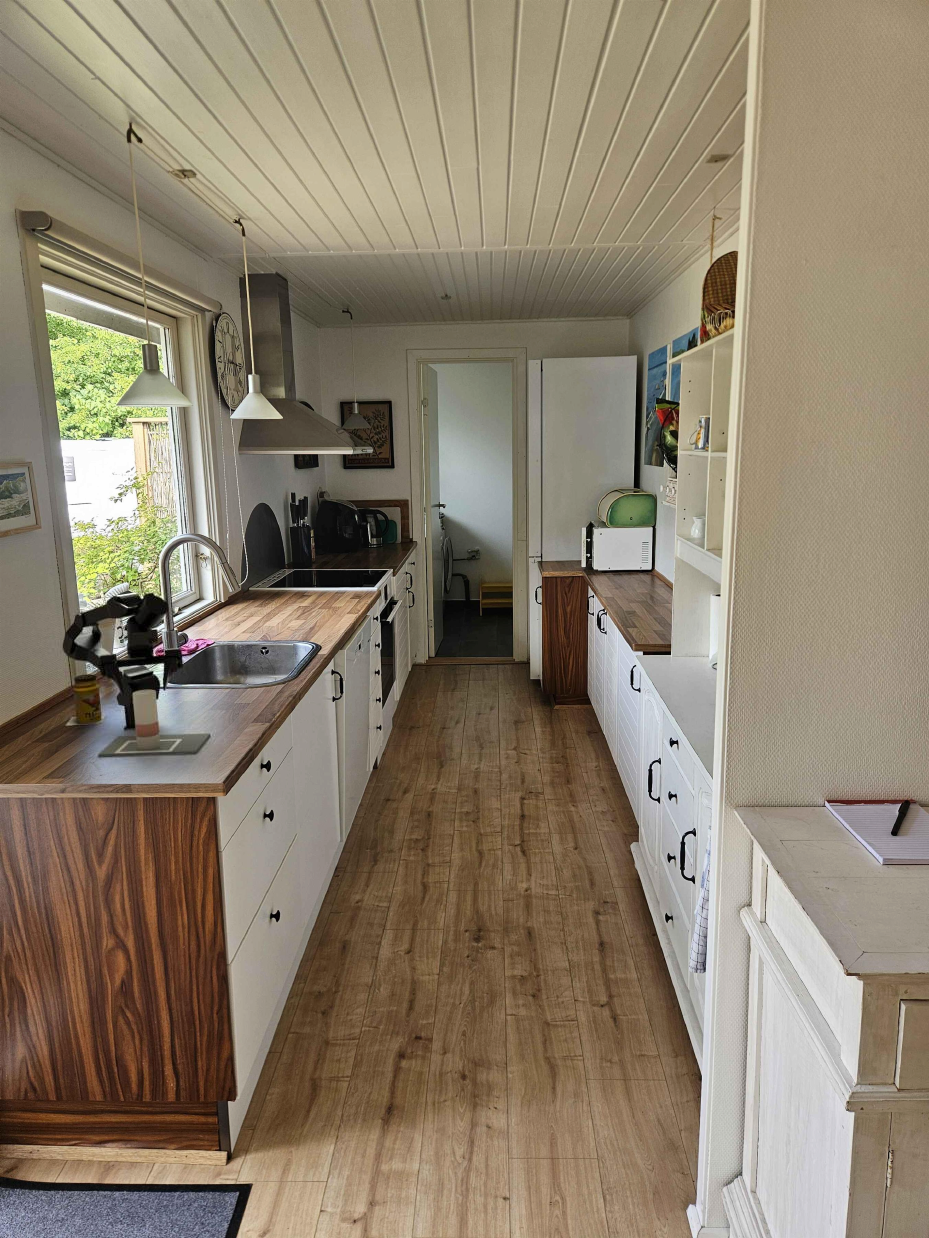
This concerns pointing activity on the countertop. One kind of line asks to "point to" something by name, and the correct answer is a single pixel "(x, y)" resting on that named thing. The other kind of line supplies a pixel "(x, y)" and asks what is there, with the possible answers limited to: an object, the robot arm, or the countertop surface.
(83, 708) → the condiment
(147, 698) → the player figure
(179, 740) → the mat
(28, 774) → the countertop surface
